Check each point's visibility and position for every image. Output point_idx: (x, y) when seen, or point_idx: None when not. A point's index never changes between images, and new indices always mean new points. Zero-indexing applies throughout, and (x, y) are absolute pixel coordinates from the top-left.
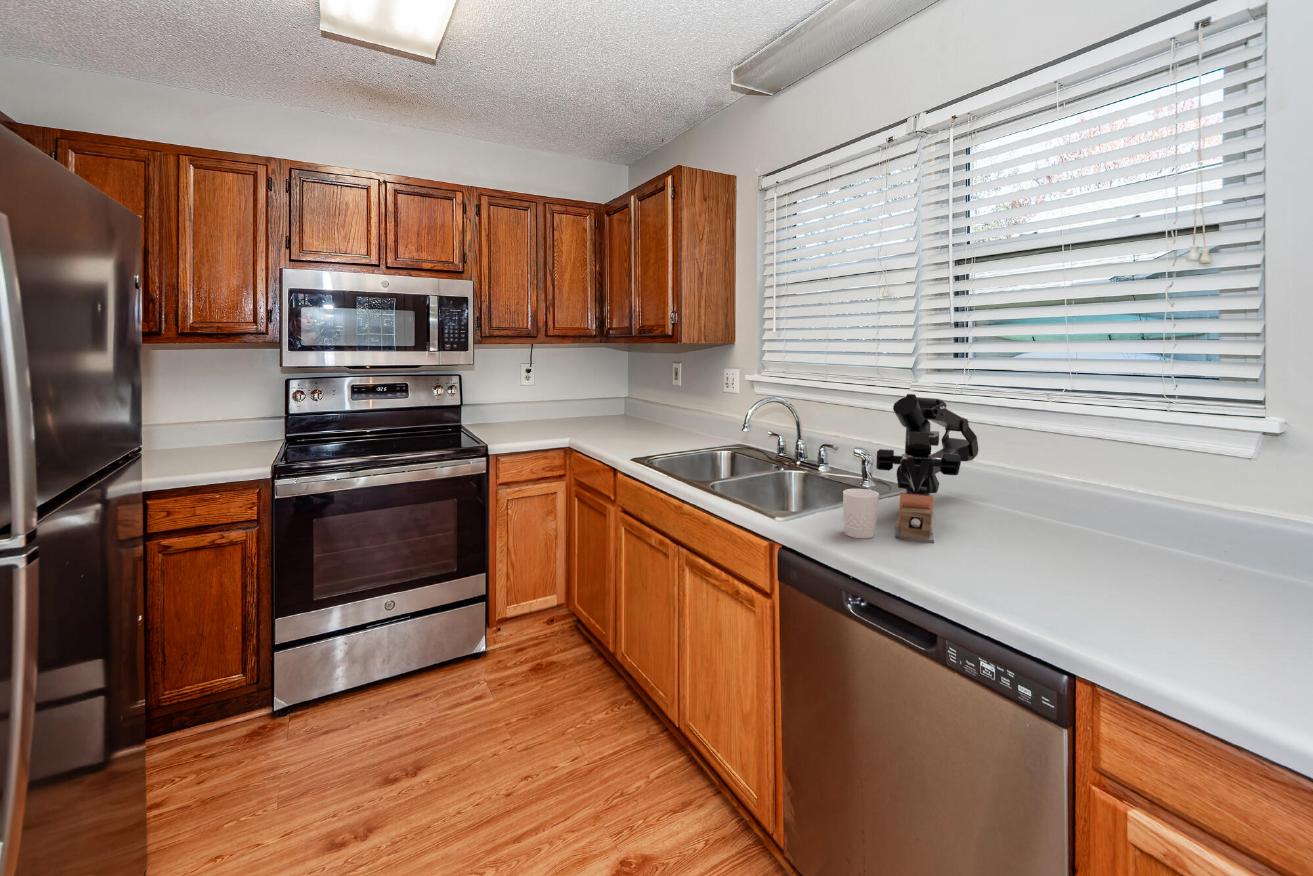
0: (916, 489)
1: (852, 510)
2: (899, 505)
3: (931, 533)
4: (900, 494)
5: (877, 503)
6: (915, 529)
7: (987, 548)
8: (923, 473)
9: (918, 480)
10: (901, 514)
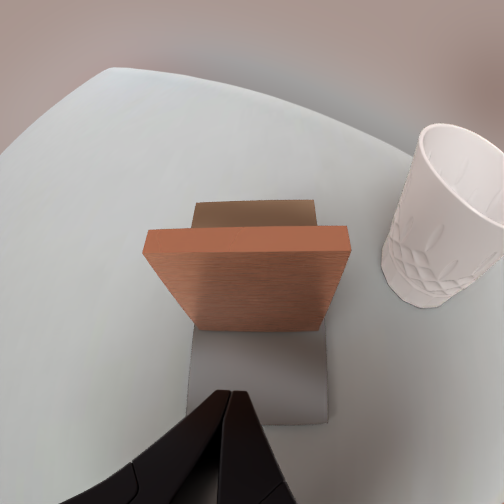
0: (230, 391)
1: (455, 172)
2: (335, 288)
3: (198, 329)
4: (344, 227)
5: (411, 176)
6: None
7: (85, 268)
8: (102, 493)
9: (194, 440)
10: None
